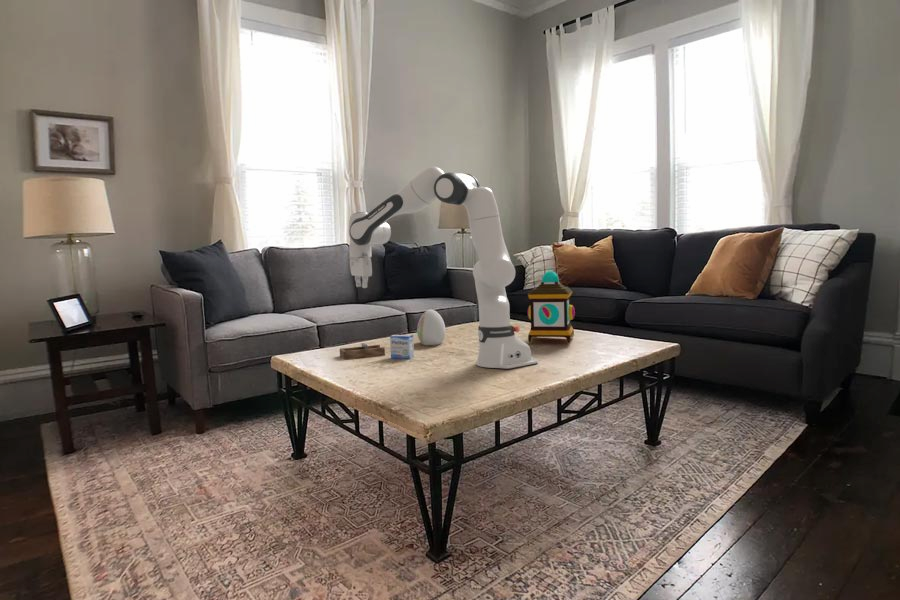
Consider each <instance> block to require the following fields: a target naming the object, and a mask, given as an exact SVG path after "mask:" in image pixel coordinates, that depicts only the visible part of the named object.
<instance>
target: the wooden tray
mask: <svg viewBox="0 0 900 600" xmlns="http://www.w3.org/2000/svg"><path fill="white" fill-rule="evenodd" d="M385 355H386V348H385V347H384V346H382V347H381V345H380V344H374V345H367V349H362V346H353V347H345V348H339V357H340V358H341V359H342V360H353V359H361V358H362V359H363V358H371V357H380V356H385Z"/></svg>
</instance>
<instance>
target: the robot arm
mask: <svg viewBox="0 0 900 600" xmlns="http://www.w3.org/2000/svg"><path fill="white" fill-rule="evenodd" d="M436 199H437V200H439V201H440V202H442V203H445V204H449V205H456V206H460V205H462V206H464V208H465V210H466V212H467V218H468V225H469V230H470V235H471V242H472V245H473V247H474V249H475V251H476V255H477V258H478V261H476V263H475V264H474V265H473V268H472V276H473V278H474V284H475V285H474V286H475V292H476V296H477V302H478V317H479V318H478V320H479V323H478V325H479V326H478V327H477V329H478V335H477V336H478V344H479V345H478V353H477V354H478V355H477V360H476V363H475V364H476V365H477V366H478V367H481V368H482V367H483V368H490V369H491V368H492V369H494V368H495V369H504V370H505V369H506V370H507V369H508V370H509V369H513V368H519V367H523V366H530V365H533V364H538V363H539V360H538V359H537V358H535V357H533V356H532V351H531V348H530V345H529V343H527V342H525V341H524V340H522V339H520V338H519V337H518V336H517V335H516V334H515V332H516V333H519V332H520V331H521V329H520V327H519V326H517V325H515V326H513V325H511V318H510V317H511V316H510V315H511V313H510V310H511V308H510V307H511V306H510V302H509V299H508V297H507V292H506V287H507V286H509V285H510V284H512V282H514V279H515V277H516V268H515V266H514V264H513V263H512V260H511V256H510V253H509V251H508V248H507V246H506V242H505V239H504V235H503V228H502V223H501V218H500V212H499V211H500V210H499V207H498V204H497V200H496V197H495V194H494V192H493V190H492V189H491V188H489V187H487V186H481V185H480V182H479V180H478V179H477V178H476V177H475V176H474V175H471V174H469V173H463V172H444V171H443V170H442V169H441V168H440V167H438V166H429V167H427V168H426V169H424V170H422V171H421V172H419V174H417V175H416V176H414V178H412V179H411V180H410V181H409V182H408V183H407V184H406V185H404V186H403V187H402V188H401V189H400V190H398V191H397V192H395V193H393V195H391V196H389V197H388V198H385V200H384V201H382V202H381V203H380V204H378V205H377V206H376V207H374V209H372V210H371V211H370V212H369V213H368V212H365V211H361V212H355V213H352V214H351V215H350V216H349V220H348V236H349V240H350V241H349V244H348V247H349V250H348V253H347V255H348V256H347V257H348V259H349V267H350V274H351V276H354V281H355V286H356V288H360V287H361V288H363V289H366V288H368V283H369V277H372V276H373V267H372V266H373V265H372V259H371V258H372V254H373V253H372V245H373V246H374V245H385V244H387V243H388V242H389V241H390V239H391V237H392V228H391V225H390V224H389V223H388V222H387V221H388V220H390V219H391V218H393V217H397V216H401V215H406V214H415V213H416V214H417V213H418V212H421V211H423V210H424V209H426V208H428V206H430V205H431V204H432V203H433V202H434V201H435V200H436ZM361 279H362V282H361ZM476 365H475V366H476Z"/></svg>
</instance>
